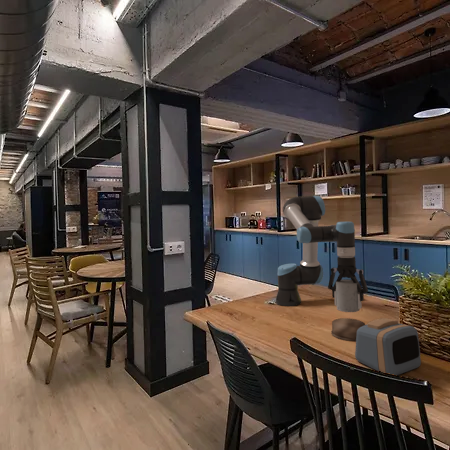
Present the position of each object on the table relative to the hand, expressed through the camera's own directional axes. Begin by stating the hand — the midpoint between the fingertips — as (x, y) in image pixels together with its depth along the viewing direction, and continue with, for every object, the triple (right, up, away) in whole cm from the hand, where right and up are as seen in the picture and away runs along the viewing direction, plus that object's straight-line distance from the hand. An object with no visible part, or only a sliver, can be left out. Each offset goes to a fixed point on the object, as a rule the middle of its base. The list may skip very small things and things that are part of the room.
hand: (347, 306), depth 146 cm
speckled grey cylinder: (0, -1, 0) cm, 1 cm away
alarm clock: (+3, -14, -28) cm, 32 cm away
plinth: (+1, -13, +1) cm, 13 cm away
